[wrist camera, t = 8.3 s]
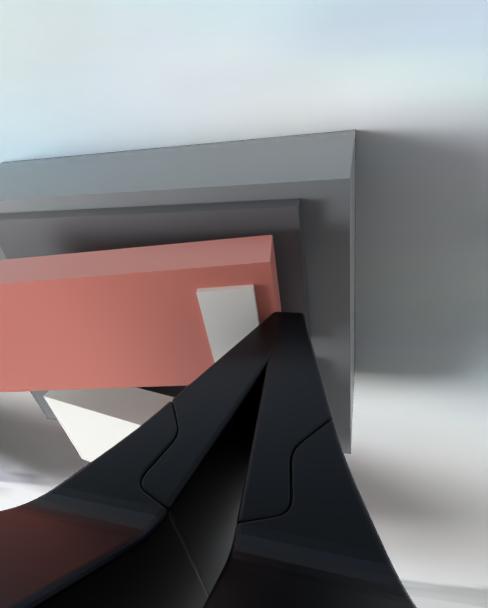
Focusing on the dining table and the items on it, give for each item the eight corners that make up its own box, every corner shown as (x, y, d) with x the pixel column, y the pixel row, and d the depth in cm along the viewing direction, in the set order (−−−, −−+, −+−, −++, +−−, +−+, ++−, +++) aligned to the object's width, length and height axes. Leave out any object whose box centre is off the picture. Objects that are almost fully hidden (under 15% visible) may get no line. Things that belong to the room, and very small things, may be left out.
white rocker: (102, 433, 16) (79, 462, 15) (69, 370, 14) (39, 399, 13) (299, 496, 13) (285, 539, 12) (290, 426, 11) (272, 470, 10)
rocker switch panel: (30, 352, 23) (-32, 419, 19) (-78, 169, 17) (-194, 217, 13) (354, 373, 18) (350, 466, 14) (355, 130, 12) (348, 186, 9)
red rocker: (18, 361, 12) (-8, 396, 11) (-43, 264, 11) (-81, 294, 9) (286, 349, 11) (285, 386, 10) (272, 234, 9) (269, 265, 8)
